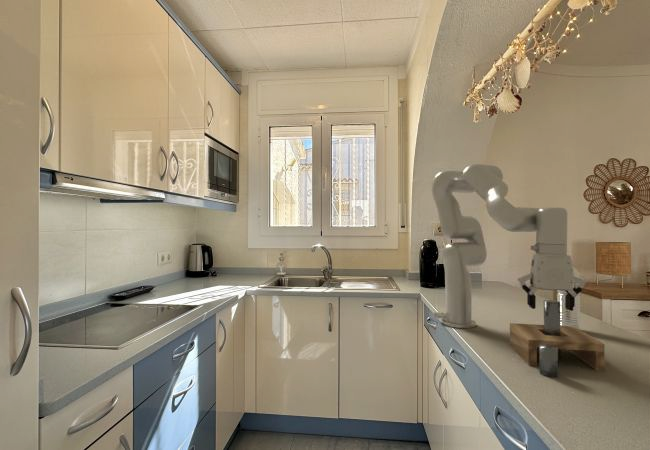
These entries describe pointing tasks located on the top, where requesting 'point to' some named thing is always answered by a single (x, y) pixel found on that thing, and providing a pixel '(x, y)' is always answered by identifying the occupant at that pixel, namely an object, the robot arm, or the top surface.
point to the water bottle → (566, 315)
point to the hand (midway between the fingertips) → (550, 308)
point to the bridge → (556, 343)
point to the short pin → (548, 360)
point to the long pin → (552, 319)
